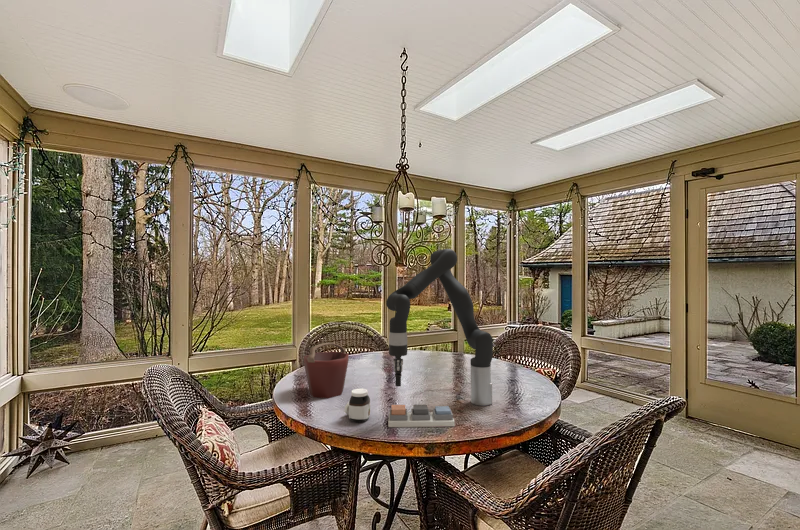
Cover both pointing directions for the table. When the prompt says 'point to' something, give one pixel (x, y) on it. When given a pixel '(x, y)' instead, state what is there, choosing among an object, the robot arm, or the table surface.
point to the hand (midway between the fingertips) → (398, 385)
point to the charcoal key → (420, 409)
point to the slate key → (442, 410)
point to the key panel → (420, 420)
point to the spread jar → (358, 406)
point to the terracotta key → (398, 410)
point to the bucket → (326, 371)
